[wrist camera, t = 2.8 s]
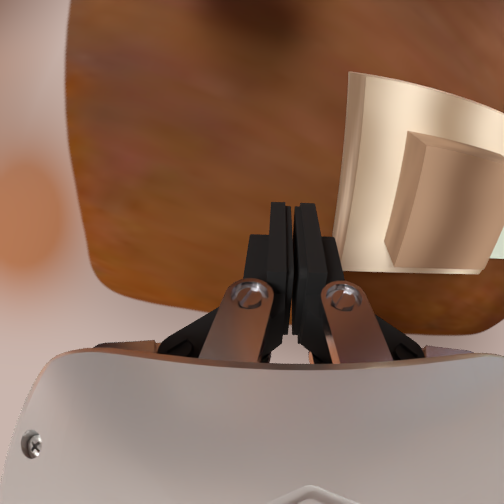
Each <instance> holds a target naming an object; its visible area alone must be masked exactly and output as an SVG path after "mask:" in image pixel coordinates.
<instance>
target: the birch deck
mask: <svg viewBox="0 0 504 504" xmlns="http://www.w3.org/2000/svg"><path fill="white" fill-rule="evenodd" d="M407 131H412V132H417V133H422V134H427V135H432V136H436V137H441V138H445V139H449V140H453V141H457V142H461V143H465V144H469V145H472V146H476V147H479V148H483V149H486V150H489V151H492V152H495V153H499V154H501V155H502V156H504V113H502V112H500V111H498V110H495V109H493V108H490V107H488V106H485V105H483V104H480V103H477V102H475V101H472V100H469V99H466V98H463V97H460V96H457V95H454V94H451V93H448V92H444V91H441V90H437V89H434V88H430V87H426V86H423V85H419V84H415V83H410V82H406V81H401V80H397V79H392V78H387V77H381V76H375V75H369V74H363V73H356V72H349V74H348V95H347V111H346V125H345V137H344V148H343V158H342V167H341V176H340V184H339V192H338V200H337V207H336V214H335V221H334V228H333V234H332V236H333V237H334V238H335V240H336V244H337V248H338V253H339V257H340V261H341V266H342V270H343V271H365V272H399V273H443V274H480V272H481V270H474V269H436V268H402V267H394V266H393V263H392V261H391V258H390V256H389V253H388V251H387V248H386V246H385V243H384V239H385V235H386V232H387V228H388V224H389V220H390V216H391V212H392V208H393V204H394V199H395V195H396V190H397V186H398V181H399V176H400V171H401V166H402V161H403V155H404V149H405V143H406V137H407Z"/></svg>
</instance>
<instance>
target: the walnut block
mask: <svg viewBox="0 0 504 504" xmlns="http://www.w3.org/2000/svg"><path fill="white" fill-rule="evenodd" d="M503 227H504V156H502V155H501V154H499V153H495V152H492V151H489V150H486V149H483V148H479V147H476V146H472V145H469V144H465V143H461V142H457V141H453V140H449V139H445V138H441V137H436V136H432V135H427V134H422V133H417V132H412V131H407V137H406V143H405V149H404V155H403V161H402V166H401V171H400V176H399V181H398V186H397V190H396V195H395V199H394V204H393V208H392V212H391V216H390V220H389V224H388V228H387V232H386V235H385V239H384V243H385V246H386V248H387V251H388V253H389V256H390V258H391V261H392V263H393V266H394V267H402V268H436V269H474V270H484V268H485V266H486V264H487V262H488V260H489V258H490V256H491V254H492V252H493V249H494V247H495V245H496V243H497V241H498V238H499V236H500V234H501V231H502V229H503Z"/></svg>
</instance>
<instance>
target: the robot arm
mask: <svg viewBox="0 0 504 504" xmlns="http://www.w3.org/2000/svg"><path fill="white" fill-rule="evenodd" d="M291 298H292V334H293V335H298V344H301V345H303V346H304V347H305V348H306V349H308V350H309V352H308V353H309V354H308V355H309V362H310V364H277V363H276V364H275V363H270V358H271V351H272V350H274V349H275V348H276V347H278V346H279V345H280V344H282V336H283V335H287V334H288V327H289V318H290V308H291ZM0 504H504V356H501V355H497V354H488V353H473V352H471V351H467V350H458V349H449V348H442V347H433V346H427V345H426V346H425V347H424V348H421V347H420V346H419V345H418V344H417V343H416V342H415V341H413V340H412V339H411V338H409V337H407V336H406V335H405V334H403V333H402V332H400V331H399V330H397V329H396V328H394V327H393V326H391V325H390V324H389V323H387V322H386V321H384V320H383V319H381V318H380V317H378V316H377V315H375V314H374V312H373V310H372V308H371V305H370V303H369V301H368V298H367V296H366V294H365V293H364V291H363V290H362V289H361V288H360V287H359V286H358V285H356V284H354V283H352V282H348V281H345V279H344V275H343V270H342V266H341V261H340V257H339V253H338V248H337V244H336V240H335V238H334V237H321V232H320V227H319V222H318V217H317V212H316V207H315V204H314V203H300V207H297V206H295V212H294V229H293V239H292V220H291V206H285V202H271V214H270V230H269V235H254V234H251V235H250V238H249V244H248V251H247V257H246V264H245V270H244V277H243V279H241V280H238V281H236V282H234V283H233V284H231V285H230V286H229V287H228V289H227V290H226V292H225V295H224V297H223V300H222V302H221V304H220V307H218V308H216V309H215V310H213V311H211V312H210V313H208V314H206V315H205V316H203V317H201V318H200V319H198V320H196V321H194V322H193V323H191V324H189V325H188V326H186V327H184V328H183V329H181V330H179V331H177V332H176V333H174V334H173V335H171V336H169V337H168V338H166V339H165V340H164V341H163V342H162V343H156V342H155V340H147V341H133V342H114V343H113V342H112V343H102V344H98V345H97V346H95V347H93V348H83V349H77V350H72V351H68V352H64V353H62V354H59V355H57V356H55V357H54V358H52V359H51V360H50V361H49V362H48V363H47V364H46V365H45V366H44V367H43V369H42V370H41V372H40V373H39V375H38V376H37V378H36V380H35V382H34V384H33V386H32V387H31V390H30V392H29V394H28V396H27V398H26V401H25V403H24V405H23V408H22V410H21V413H20V415H19V418H18V420H17V423H16V426H15V429H14V433H13V436H12V439H11V442H10V446H9V449H8V453H7V457H6V460H5V464H4V469H3V474H2V478H1V484H0Z"/></svg>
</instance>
